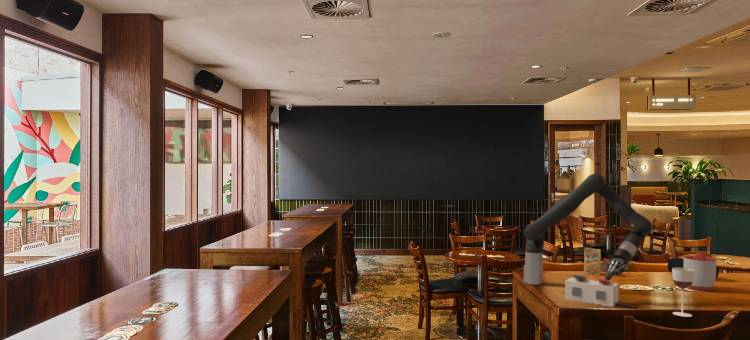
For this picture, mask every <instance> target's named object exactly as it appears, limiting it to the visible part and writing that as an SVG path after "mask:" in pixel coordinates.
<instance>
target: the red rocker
mask: <svg viewBox="0 0 750 340" xmlns="http://www.w3.org/2000/svg"><path fill="white" fill-rule="evenodd" d="M596 281H599V283H603V284H608V283H611V280H607V279H605V278H604V277H602V278H601V277H597V278H596Z"/></svg>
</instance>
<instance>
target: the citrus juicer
mask: <svg viewBox="0 0 750 340" xmlns="http://www.w3.org/2000/svg"><path fill="white" fill-rule="evenodd" d="M682 258H683V259H684V267H683V268H689V269H693V270H694V279H693V283H692V285H691V286H690V287H688V288H687V289H690V290H692V291H695V290H696V291H704V292H710V291H712V290H713V288H714V287H715V283H716V280H717V279H716V265H717V260H718V259H717V258H715V257H712V256H711V257H710V256H705V254H703V253H702V252H701V251H700V252H699V251H698V253H696V254H695V255H689V254H688V255H683V257H682Z"/></svg>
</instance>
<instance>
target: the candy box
mask: <svg viewBox="0 0 750 340" xmlns="http://www.w3.org/2000/svg"><path fill="white" fill-rule="evenodd" d="M601 251H602V250H601V249H600V248H589V247H588V248H586V247H585V248H584V251H583V253H584V257H583V259H584V261H583V262H584V264H583V274H585V275H594V276H600V275H601V261H602V260H601V259H602V258H601V255H602V252H601Z"/></svg>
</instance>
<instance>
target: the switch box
mask: <svg viewBox="0 0 750 340" xmlns="http://www.w3.org/2000/svg"><path fill="white" fill-rule="evenodd" d="M564 300H568V301H574V300H575V301H574V302H580V301H581V302H582V303H586V302H587V303H588V304H592V303H594V305H599V304H601V305H600V306H604V307H605V306H606V307H615V306H620V307H621V306H623V307H628V308H633V309H635V305H634V304H629V303H620V302H619V283H615V282H610V283H608V284H603V283H599V281H598V280H594V279H593V280H592V279H587V280H586V279H584V281H582V280H575V277H573V276H572V277H569V278H568V279H565V280H564ZM587 303H586V304H587Z"/></svg>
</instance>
